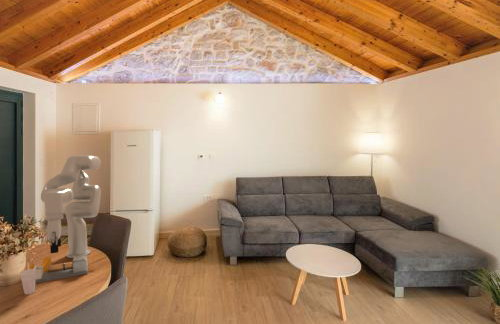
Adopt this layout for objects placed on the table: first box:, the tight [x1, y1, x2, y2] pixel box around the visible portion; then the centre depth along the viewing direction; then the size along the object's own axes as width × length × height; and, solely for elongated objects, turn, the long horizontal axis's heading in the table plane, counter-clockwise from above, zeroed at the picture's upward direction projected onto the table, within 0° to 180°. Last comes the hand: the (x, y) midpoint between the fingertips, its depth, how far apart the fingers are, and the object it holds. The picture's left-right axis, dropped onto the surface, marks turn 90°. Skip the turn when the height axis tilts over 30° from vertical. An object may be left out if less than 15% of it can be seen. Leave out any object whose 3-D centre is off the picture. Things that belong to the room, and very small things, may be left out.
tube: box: [47, 261, 73, 273], centre depth 155 cm, size 4×16×4 cm, turn 116°
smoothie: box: [18, 262, 37, 295], centre depth 137 cm, size 6×6×14 cm
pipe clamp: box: [25, 256, 53, 273], centre depth 156 cm, size 12×4×6 cm, turn 168°
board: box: [35, 265, 89, 284], centre depth 154 cm, size 8×24×1 cm, turn 116°
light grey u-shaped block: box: [33, 264, 43, 280], centre depth 150 cm, size 6×3×5 cm, turn 26°
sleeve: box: [72, 255, 88, 273], centre depth 157 cm, size 6×6×6 cm
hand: (55, 249), depth 152 cm, fingers open, 9 cm apart
